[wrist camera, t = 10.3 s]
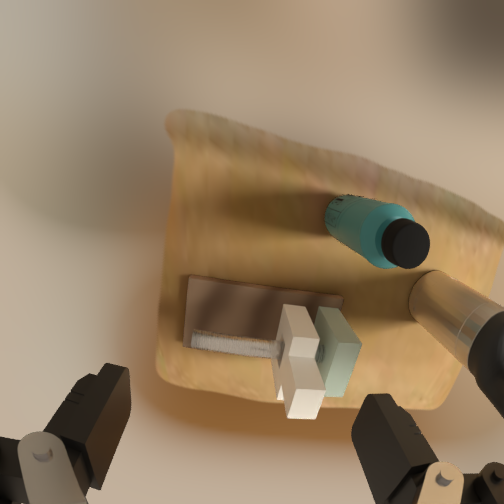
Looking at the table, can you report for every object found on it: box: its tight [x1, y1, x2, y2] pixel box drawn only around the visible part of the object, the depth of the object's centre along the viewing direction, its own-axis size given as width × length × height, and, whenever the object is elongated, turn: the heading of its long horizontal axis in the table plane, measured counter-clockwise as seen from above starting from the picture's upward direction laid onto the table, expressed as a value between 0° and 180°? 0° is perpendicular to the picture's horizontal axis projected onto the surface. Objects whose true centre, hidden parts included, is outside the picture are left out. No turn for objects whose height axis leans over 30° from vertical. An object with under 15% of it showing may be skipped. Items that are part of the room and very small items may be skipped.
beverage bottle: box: [324, 194, 430, 269], centre depth 33 cm, size 6×7×20 cm
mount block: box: [314, 306, 362, 397], centre depth 40 cm, size 3×8×10 cm, turn 171°
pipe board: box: [183, 275, 344, 359], centre depth 45 cm, size 22×11×2 cm, turn 81°
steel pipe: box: [191, 329, 325, 363], centre depth 38 cm, size 18×3×3 cm, turn 81°
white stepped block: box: [271, 304, 326, 419], centre depth 35 cm, size 3×9×15 cm, turn 171°
